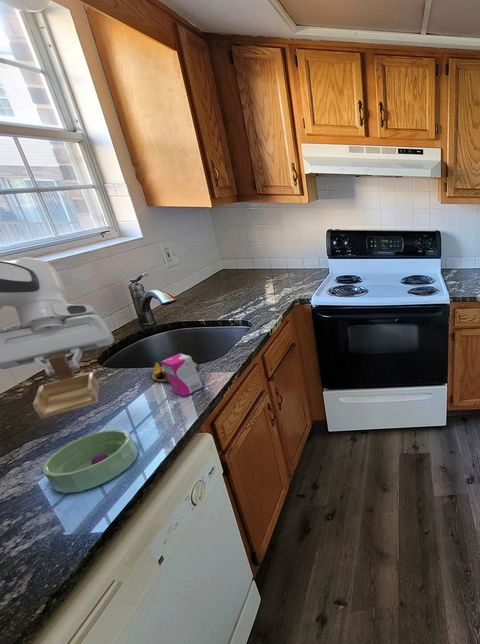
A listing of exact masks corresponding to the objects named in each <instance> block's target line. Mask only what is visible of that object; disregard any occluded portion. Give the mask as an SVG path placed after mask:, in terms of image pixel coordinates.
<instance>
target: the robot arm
mask: <svg viewBox="0 0 480 644" xmlns="http://www.w3.org/2000/svg"><path fill="white" fill-rule="evenodd" d="M66 297H67V291H66V288H65V285H64V283H63V280H62V278H61V276H60V274H59V273H58V271H57V270H56V269H55V267H54V266H52V264H51V263H48V262H47V261H45V260H42V259H39V258H35V257H18V258H15V259H12V260H1V259H0V311H1V310H2V309H3V308H4V307H6V306H8V307H12V308H15V311H16V314H17V317H18V320H19V323H20V324H19V325H16V326H15V325H14V326H10V327H7V328H6V327H5V328H0V369H1V370H7V369H11V368H16V367H20V366H25V365H28V364H34V363H36V364H37V365H38V366H40V367H42V368H43V369H44V371H45V372H44V373H45V374H46V376H48V377H50V376H54V375H57V374H56V373H55V371H54V369H53V367H52V366H51V364H50V365H47V363H48V360H49V357H50V356H53V355H57V354H62V353H64V354H65V356H67V355H71V354H72V358H71V360H68V361H67V363H68V366H69V368H70V369H71V370H73V371H75V370H77V369H78V370H79V369H80V360H81V359H82V356H83V352H84V351H89V350H94V349H97V348H102V347H105V346H111V345H112V344H113V343H114V342H115V338H114V335H113V333H112V332H111V329H110V328H109V327H108V325H107V323H106V322H105V321H104V319H103V318H102V317H101V316H100V315H99V313H98V311H97V310H96V309H95V308H94V307H93V306H91V305H90V304H72V303H71V304H70V303H69V302H68V300H67V298H66Z"/></svg>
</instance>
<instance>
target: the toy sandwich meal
mask: <svg viewBox="0 0 480 644" xmlns="http://www.w3.org/2000/svg"><path fill="white" fill-rule="evenodd" d="M193 363H194V366H195V368H196V369H197V367H198V365H197V363H196V362H194V361H193ZM153 370H154V371H153V372H154V373H152V375H151V379H152V380H154V381H158V382H160V383H168V382H169V380H168V377H167V375H166V373H165V371H164V368H163V366H161V365H160V364H159V362H155V364H154V369H153ZM169 383H170V382H169Z"/></svg>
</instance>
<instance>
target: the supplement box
mask: <svg viewBox="0 0 480 644" xmlns="http://www.w3.org/2000/svg"><path fill="white" fill-rule="evenodd" d="M193 362H194V361H193V358H192V356H191V355H187V354H183V353H177V354H175V355H172V356H171V357H168V358H166V359H163V360H161V361H160V364H161V367H163V368H164V371H165V373H166V375H167V377H168V380H169V384H170V386H171V389H172V391H173V393H174V394H175V395H177V396H180V397H183V398H187V397H190V396H191V395H194V394H195V393H197V392H199V391H201V390H203V389H204V385H203V383H202V380H201V377H200V376H199V373H198V371H197V367H196V368H195V366H194V363H195V362H194V363H193Z"/></svg>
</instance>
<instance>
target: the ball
mask: <svg viewBox="0 0 480 644" xmlns="http://www.w3.org/2000/svg"><path fill="white" fill-rule="evenodd" d="M107 457H109V456H108V455H106V454H99V455H96V456H95V457H94V458H93V459H92V465H93V464H96V463H98V462H100V461H102V460H104V459H106V458H107Z"/></svg>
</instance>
